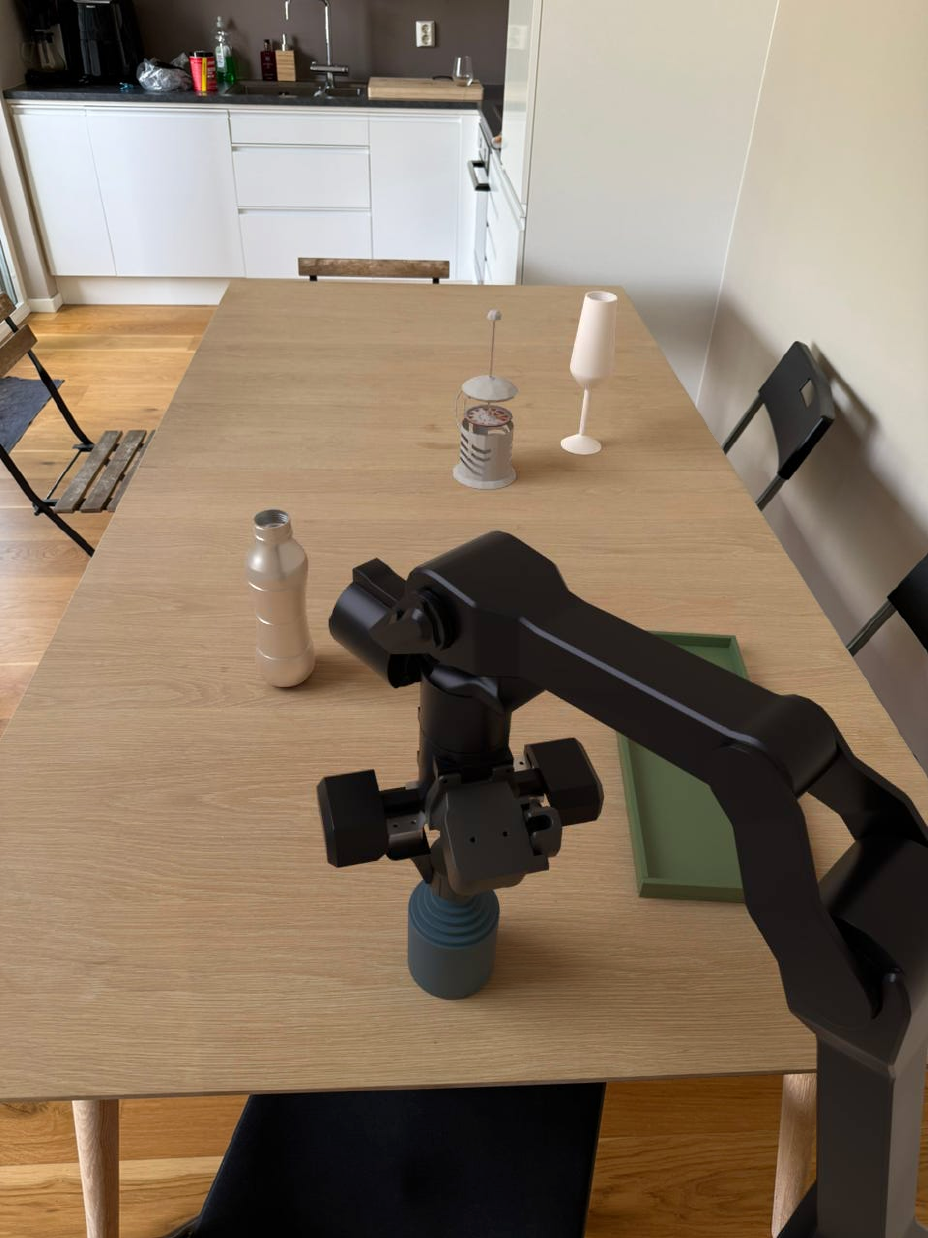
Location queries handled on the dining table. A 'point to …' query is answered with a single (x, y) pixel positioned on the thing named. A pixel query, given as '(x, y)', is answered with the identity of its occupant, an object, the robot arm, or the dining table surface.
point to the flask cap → (442, 876)
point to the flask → (451, 942)
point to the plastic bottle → (279, 600)
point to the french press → (486, 430)
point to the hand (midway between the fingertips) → (455, 873)
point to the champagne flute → (592, 360)
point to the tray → (681, 807)
